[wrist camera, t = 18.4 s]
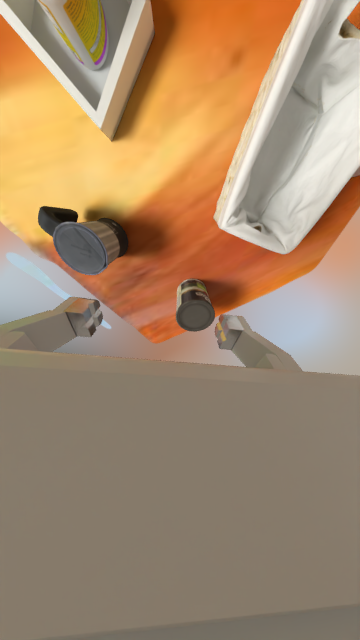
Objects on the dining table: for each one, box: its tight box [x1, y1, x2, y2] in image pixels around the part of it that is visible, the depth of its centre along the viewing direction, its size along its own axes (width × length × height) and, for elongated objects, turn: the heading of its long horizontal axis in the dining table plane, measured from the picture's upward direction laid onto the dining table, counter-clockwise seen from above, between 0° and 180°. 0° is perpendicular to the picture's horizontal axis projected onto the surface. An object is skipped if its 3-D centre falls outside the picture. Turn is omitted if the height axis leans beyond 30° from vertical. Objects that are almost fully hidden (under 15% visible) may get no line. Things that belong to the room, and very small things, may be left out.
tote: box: [0, 0, 155, 141], centre depth 19 cm, size 14×14×5 cm
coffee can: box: [176, 279, 215, 331], centre depth 41 cm, size 10×10×14 cm
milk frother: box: [38, 206, 128, 275], centre depth 32 cm, size 14×16×15 cm
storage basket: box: [213, 0, 360, 254], centre depth 24 cm, size 24×16×15 cm
